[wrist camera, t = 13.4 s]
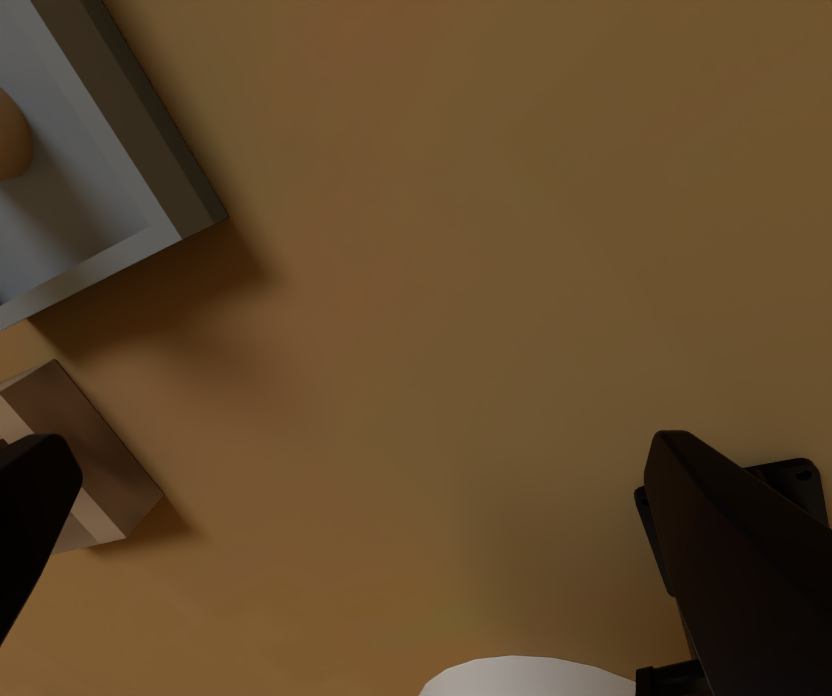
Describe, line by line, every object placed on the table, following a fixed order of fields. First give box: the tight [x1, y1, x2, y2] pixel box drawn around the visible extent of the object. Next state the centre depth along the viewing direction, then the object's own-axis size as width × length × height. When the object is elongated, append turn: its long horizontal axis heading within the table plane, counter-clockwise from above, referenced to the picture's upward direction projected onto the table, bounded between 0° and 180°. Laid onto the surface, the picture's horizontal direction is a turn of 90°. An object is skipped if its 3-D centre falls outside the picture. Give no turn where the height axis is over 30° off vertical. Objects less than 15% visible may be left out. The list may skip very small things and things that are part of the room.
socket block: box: [0, 359, 164, 555], centre depth 27 cm, size 9×9×3 cm
